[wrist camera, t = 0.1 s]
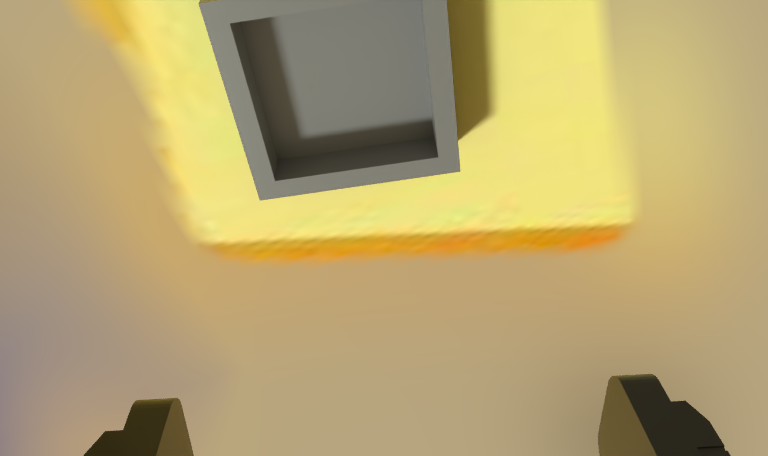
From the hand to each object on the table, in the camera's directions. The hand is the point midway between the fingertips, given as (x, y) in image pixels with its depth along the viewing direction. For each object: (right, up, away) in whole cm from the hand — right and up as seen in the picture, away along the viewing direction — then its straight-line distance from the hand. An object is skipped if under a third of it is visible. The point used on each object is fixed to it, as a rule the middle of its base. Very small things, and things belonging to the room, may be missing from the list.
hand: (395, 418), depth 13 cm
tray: (-2, +11, +20) cm, 23 cm away
